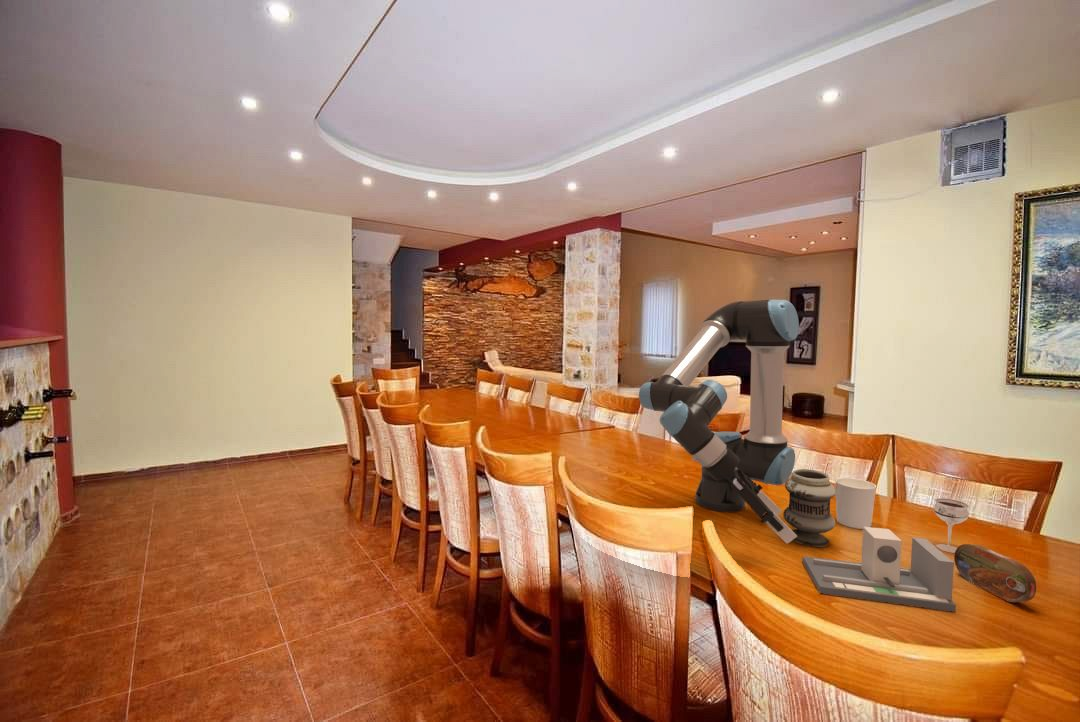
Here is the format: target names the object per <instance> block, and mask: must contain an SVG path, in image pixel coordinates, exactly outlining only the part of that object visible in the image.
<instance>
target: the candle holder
mask: <svg viewBox="0 0 1080 722" xmlns="http://www.w3.org/2000/svg"><path fill="white" fill-rule="evenodd" d="M835 489H836V494H835V505H836V506H835V509H836V512H835V513H836V520H837V523H839V524H840V525H842V526H845V527H848V528H851V529H856V530H857V529H858V530H863V527H872V523H873V522H872V521H873V513H874V506H875V498H876V497H875V496H876V492H877V490H876V489H877V485H876V484H875V483H873V482H871V481H868V480H864V479H860V478H856V477H854V478H853V477H838V478H835Z"/></svg>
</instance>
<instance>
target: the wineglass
mask: <svg viewBox="0 0 1080 722" xmlns="http://www.w3.org/2000/svg"><path fill="white" fill-rule="evenodd" d="M934 502H935V504H934V506H933V511H934V513H935V515H936V516H937V517H938V518H939V519H940V520H941V521H943V522H945V523H946V525H947V544H943V543H939V544H935V547H936V548H937V549H938V550H940V551H941V550H942V551H943V552H947V553H952V554H955V551H956V549H957V548H958V547H955V546H953V545H951V539H952V530H953V526H955V524H961V523H963V522H965V521H967V520H968V518H969V515H970V513H969V510H968V508H970V506H969V504H967V503H965V502H963V501H959V500H956V499H950V498H942V497H941V498H935V499H934Z"/></svg>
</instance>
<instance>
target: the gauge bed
mask: <svg viewBox="0 0 1080 722" xmlns="http://www.w3.org/2000/svg"><path fill="white" fill-rule="evenodd" d="M910 556H911V557H910V568H903V567H900V580H899V584H894V586H895V587H891V586H890V585H889V584H888V583H884V582H876V581H870V580H869V579H868V578H867V576H866V575H865V574H864V573H863V571H862V570H861V562H854V561H847V560H846V561H845V560H838V559H829V558H823V557H822V558H820V557H813V556H804V555H802V558H801V559H802V564H803V566H804V567H805V570H806V572H807V573H808V574H809V576H810V578H812V579H811V580H812V582H813V584H814V585H816V586H815V588H816V589H817V591H818V593H819V592H820V593H823V594H822V595H827V594H829V595H830V596H834V595H836V597H842V596H843V597H844V598H849V597H852V598H851V599H856V598H860V599H859V600H863V599H868V600H867V601H871V600H873V601H872V602H878V601H880V602H879V603H885V602H888V603H887V604H892V603H897V604H896V605H900V604H905V605H904V606H907V605H913V606H912V607H914V606H919V607H918V608H921V607H926V608H925V609H929V608H931V609H930V610H936V609H937V610H938V611H945V612H950V611H952V612H953V613H956V612H957V610H956V608H957V604H956V603H955V602H954V601H952V600H953V599H952V598H953V587H954V585H953V584H954V567H955V561H953V560H952V559H950V557H948V556H947V555H946V554H945V553H943V552H942V551H941V549H939V548H937V547H936V545H934V544H933V543H931V542H930V541H929V540H928V539H926V538H922V537H921V538H920V537H912V539H911V555H910ZM820 593H819V594H820ZM829 595H828V596H829Z"/></svg>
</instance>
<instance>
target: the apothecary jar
mask: <svg viewBox="0 0 1080 722" xmlns="http://www.w3.org/2000/svg"><path fill="white" fill-rule="evenodd" d="M784 487H785V490H786V491H787V492H788V493H789V496H788V497H789V498H788V499H789V501H788V506H787V507H786V508H785V509H784V511H782V515H783V518H784V521H785V522H786V523H787V524H788V525H790V526H791V527H792V528H795V529H791V530H792V531H793V532H794V533H795V534H796V535H797V537H796V538H795V539H793V540H792V541H793V542H795V543H797V544H799V545H802V546H810V547H813V548H824V547H827V546H829V544H830V541H829V539H828V538H827V537H826V536H825V535H823V534H826V533H828V532H830V531H832V530H833V529H834V528H835V526H836V520H835V518H834V516H833V515H832V514H831V499H833V498H835V497H836V486H834V485H833V483H831V482H830V477H829V475H828V474H827V473H825V472H822V471H819V470H815V469H810V468H809V469H808V468H807V469H806V468H799V469H793V471H792V473H791V475H790V477H789V479H788V480H787V481H786V482H785V483H784ZM792 541H791V542H792Z"/></svg>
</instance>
